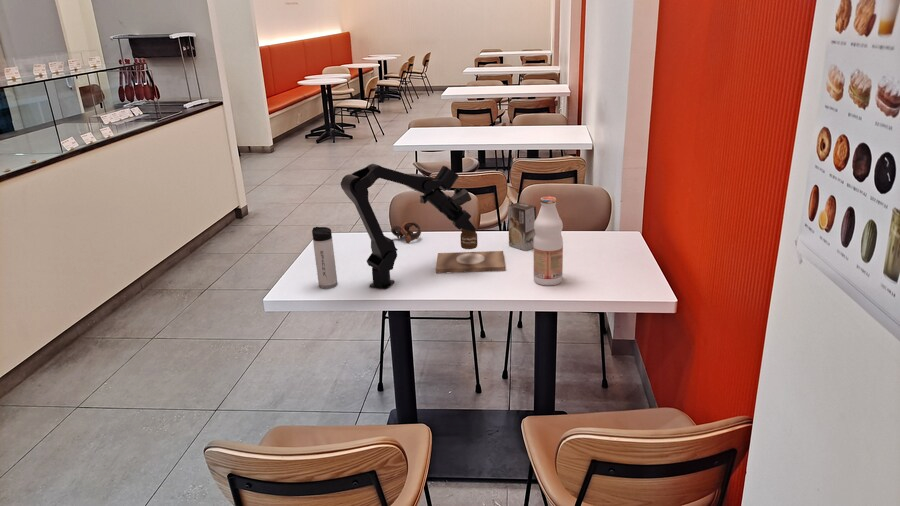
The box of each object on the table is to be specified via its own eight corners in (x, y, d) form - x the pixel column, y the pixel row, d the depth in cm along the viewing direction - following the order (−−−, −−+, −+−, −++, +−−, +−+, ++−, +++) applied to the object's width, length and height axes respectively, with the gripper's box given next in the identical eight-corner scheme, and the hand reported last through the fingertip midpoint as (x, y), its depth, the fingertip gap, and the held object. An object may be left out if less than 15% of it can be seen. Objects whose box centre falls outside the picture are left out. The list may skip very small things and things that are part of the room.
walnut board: (503, 254, 234) (503, 249, 233) (505, 270, 218) (505, 265, 218) (438, 256, 235) (437, 251, 234) (435, 273, 220) (435, 267, 219)
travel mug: (328, 279, 218) (321, 224, 212) (341, 283, 214) (335, 227, 207) (314, 285, 214) (307, 229, 207) (327, 290, 210) (320, 232, 203)
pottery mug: (419, 235, 261) (423, 221, 255) (417, 252, 254) (421, 238, 248) (390, 230, 259) (393, 216, 253) (388, 247, 253) (391, 232, 247)
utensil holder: (460, 244, 227) (458, 212, 223) (477, 243, 227) (476, 211, 223) (461, 250, 221) (460, 217, 217) (479, 249, 221) (478, 216, 217)
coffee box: (537, 247, 240) (537, 206, 234) (525, 251, 236) (525, 209, 230) (519, 241, 246) (518, 201, 241) (507, 246, 242) (507, 205, 237)
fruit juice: (531, 285, 206) (531, 202, 196) (535, 274, 214) (535, 194, 205) (560, 287, 203) (562, 202, 194) (563, 276, 212) (565, 194, 202)
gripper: (464, 189, 207) (496, 218, 213) (449, 177, 224) (479, 204, 230) (441, 215, 208) (474, 243, 214) (428, 201, 225) (459, 227, 231)
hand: (472, 228), depth 222 cm, fingers closed on utensil holder, 5 cm apart
